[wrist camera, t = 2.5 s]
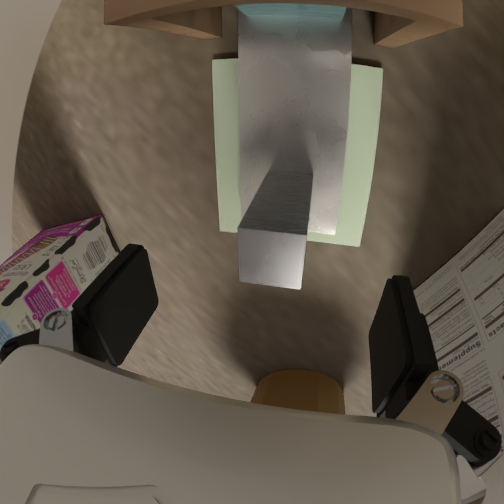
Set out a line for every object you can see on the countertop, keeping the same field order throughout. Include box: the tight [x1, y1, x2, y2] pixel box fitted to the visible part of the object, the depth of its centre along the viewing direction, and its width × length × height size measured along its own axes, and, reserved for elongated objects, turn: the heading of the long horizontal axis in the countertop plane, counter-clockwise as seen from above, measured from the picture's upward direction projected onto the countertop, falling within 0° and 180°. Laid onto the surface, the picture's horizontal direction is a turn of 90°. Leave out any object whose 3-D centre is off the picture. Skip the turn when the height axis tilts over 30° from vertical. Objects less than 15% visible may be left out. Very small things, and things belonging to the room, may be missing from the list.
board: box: [212, 58, 383, 247], centre depth 18 cm, size 12×10×1 cm
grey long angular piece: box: [233, 3, 352, 290], centre depth 11 cm, size 19×6×8 cm, turn 1°
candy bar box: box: [0, 215, 119, 350], centre depth 20 cm, size 11×5×16 cm, turn 104°
